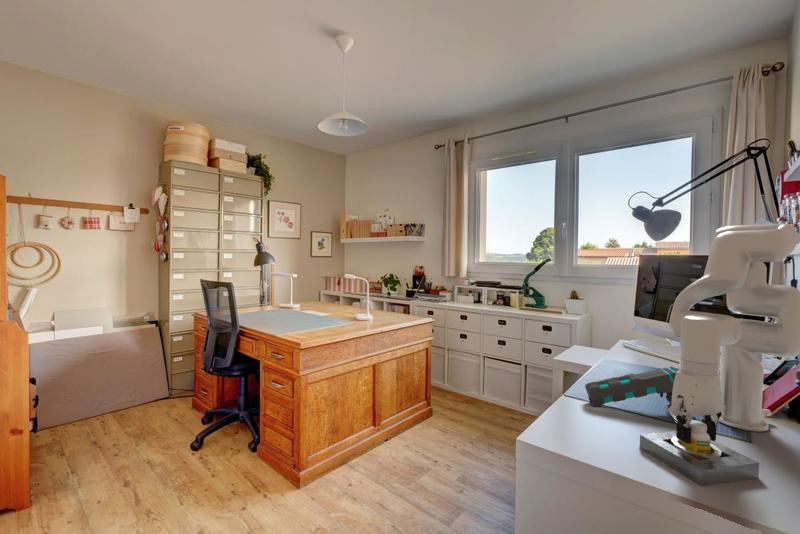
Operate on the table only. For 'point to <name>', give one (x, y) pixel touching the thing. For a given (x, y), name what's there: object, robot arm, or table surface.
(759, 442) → the table surface
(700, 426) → the supplement bottle
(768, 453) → the table surface
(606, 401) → the gun
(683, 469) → the bore block
